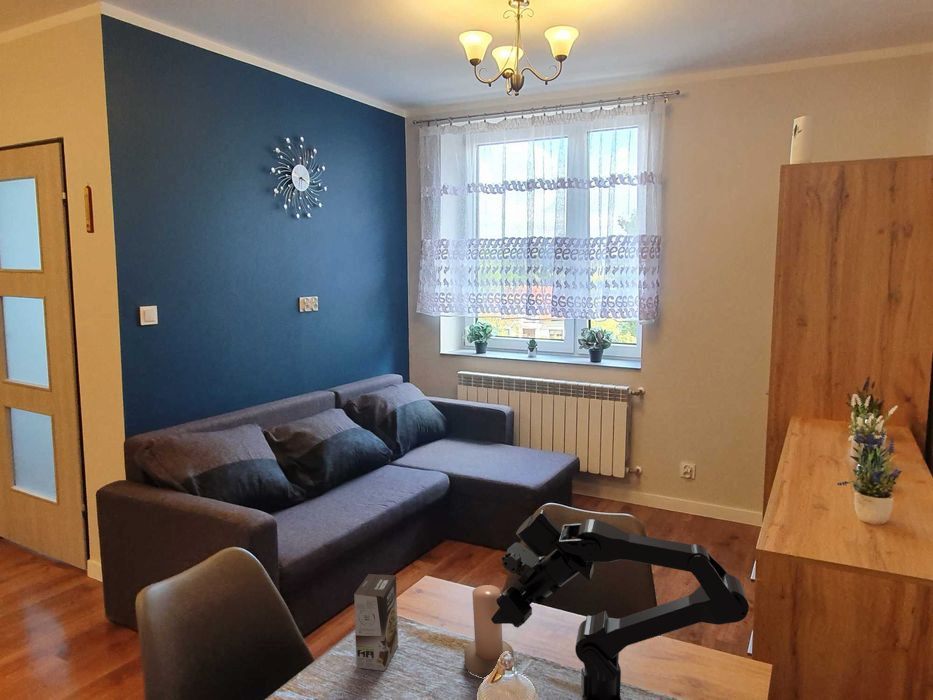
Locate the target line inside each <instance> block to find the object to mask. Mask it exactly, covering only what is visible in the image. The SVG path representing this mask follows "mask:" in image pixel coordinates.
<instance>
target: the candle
mask: <svg viewBox="0 0 933 700" xmlns="http://www.w3.org/2000/svg"><path fill="white" fill-rule="evenodd" d="M471 595H472V609H473V610H472V611H473V612H472V613H473V627H474V628H473V631H474V640H475V651H476V655H477V656H478V657H479V658H481V659H483V660H494V659H497V658H499V657H500V655H501V654H502V653H503V641H504V639H503V624H494V623H493V622H492V620H491V618H492V617H493V616H494V614H495V613H496V612H497V610H498V609H499V606H498V604H497V601H496V599H497V598H498V597H499V596H500V595H501V590H500V588H498V587H497V586H494V585H490V584H485V585H484V584H483V585H480V586H479V585H478V586H477V587H474V588H473V590H472V593H471Z"/></svg>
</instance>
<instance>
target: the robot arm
mask: <svg viewBox="0 0 933 700" xmlns="http://www.w3.org/2000/svg"><path fill="white" fill-rule="evenodd" d="M515 535H516V536H517V537H518V538H519V539H520V540H521V541H522V542H523V543H524V544H525V545H526V546H527V547H528V548H527V547H526V546H524V545H523V544H522V543H520V542H518V541H517V542H514V543H513V544H511V546H510V547H508V548H507V550H506V552H505V554H504V555H503V556H501V564H502V566H503V567H502V568H504V569H505V570H506V571H507V572H509V573H510V574H513V575H515V574H517V576H519V577H518V578H517V581H518V582H519V583H520V584H521V586H520V587H519V588H517V587H513V586H509V587H508V588H507V589H506V590H504V591H503V592H502V593H500V596H499V597H498V598H497V599H496V601H497V604H498V606H499V609H498V610H497V612H496V613H495V614H494V616H493V617H492V618H491V620H492V622H493V623H494V624H502V625H503V624H505V625H509V624H510V625H512V626H513V627H514V628H517V629H518V628H520V627H522V625H524V624H525V623H526V622H527V620H529V618H530V617H531V616H532V615H533V607H532V606H531V604H532V603H533V602H534V601H535V602H537V604H538V605H541V604H542V603H543V602H544V601H545V599H546V598H548V597H549V596H550V595H551V594H556V593H557V592H558V591H559V590H560V589H561V588H562V586H563V585H565V584H566V583H567V582H569V581H570V580H572V579H573V578H574V577H576V576H578V574H580V575H581V576H583V578H584V579H585V580H586V581H587V582H588V581H591V579H592V576H593V573H594V571H595V568H594V563H612V562H616V561H630V562H635V563H640V564H641V563H642V564H645V565H651V566H656V567H663V568H667V569H672V570H679V571H682V572H689V573H691V574H692V576H693V577H695V578H696V580H697V582H698V583H699V587H697V588H696V589H695V590H694V591H693V592H692V593H691V594H689V595H686V596H683V597H679V598H677V599H675V600H672V601H667V602H665V603H662V604H659V605H656V606H654V607H650V608H647V609H644V610H641V611H638V612H635V613H633V614H629V615H625V616H623V617H620V618H619V617H618V618H613V617H609V616H608V613H607V611H606V610H603V611H601V612H598V613H597V614H594V615H586V618H585V620H583V621H582V622H580V625H579V627H578V630H577V635H576V636H577V637H576V642H575V649H574V650H575V654H576V656H577V658H578V659H579V661H580V662H582V663H583V665H584V666H583V667H582V668H581V679H580V680H581V681H580V682H581V683H580V688H581V692H582V695H583V697H584V698H585V700H623V699H622V696H621V686H622V684H621V680H622V679H621V676H622V669H621V666H620V662H619V659H620V658H619V656H620V652H622V651H623V650H624V649H625V648H626V647H629V646H631V645H634V644H638V643H641V642H644V641H646V640H649V639H653V638H655V637H659V636H662V635H665V634H669V633H672V632H675V631H679V630H681V629H684V628H687V627H691V626H694V625H697V624H708V625H716V626H719V625H721V626H722V625H728V624H734V623H735V624H736V623H739V622H742V621H744V620H745V619H746V618H747V615H748V613H749V607H750V606H749V603H748V599H747V595H746V592H745V588H744V586H743V583H742V581H740V579H738V578H737V577H736V576H734V575H731V574H729V572H727V570H726V569H725V568H724V567H723V565H721V563H720V562H718V561H717V560H716V559H715V558H714V557H713V556H712V555H711V554H710V553H709V552H708V551H709V550H707V548H706V547H705V546H703V545H701V544H699V543H697V544H696V543H693V544H690V543H684V542H678V541H672V540H668V539H667V540H666V539H662V538H661V539H660V538H655V537H650V536H644V535H637V534H632V533H629V532H625V531H623V530H621V529H619V528H618V527H616V526H614V525H612V524H609V523H607V522H604V521H600V520H599V519H595V518H594V519H593V518H591V519H590V518H589V519H586V520H585V521H583V522H581V523H570V524H569V523H568V524H567V523H566V524H562V525H561V528H560V527H559V526H558V524H556V522H555V521H554V520H553V519H552V518H551V517H550V516H549V514H548V513H547V512H546V511H545V510H544V509H541V510H540V511H539V512H535V513H534V514H533V515H530V516H529V517H528V518H527V519H526V520H525V521H523V523H522V524H521V525H520V526H519V527H518V529H517V530H516V532H515ZM573 538H575V539H573Z"/></svg>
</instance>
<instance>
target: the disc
mask: <svg viewBox="0 0 933 700" xmlns="http://www.w3.org/2000/svg"><path fill="white" fill-rule="evenodd" d="M505 651H509V652H511V654H512V657H513V658H514V649H513V647H512V645H510V643H508V642H507V641H505V640H503V652H505ZM463 656H464V659H463V660H464V662H463V663H465V665H464V668H465V667H466V669H467V670H468V671H469V672H471V673H472V674H474V675H477V676H479V677H482V678H484V677H486V676H487V675H489V674H490V673H491V672H492V671H493V669H494V668H495V666H496V664H497V661H498V659H499V658H497V659H494V660H483V659H481V658H479V657H478V656H477V655H476V651H475V639H474V640H472V641H471V642H469V643H468V644H467V645H466V646H465V649H464V655H463ZM466 669H465V670H466ZM467 670H466V671H467Z"/></svg>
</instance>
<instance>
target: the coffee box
mask: <svg viewBox="0 0 933 700" xmlns="http://www.w3.org/2000/svg"><path fill="white" fill-rule="evenodd" d="M353 595H354V596H353V597H354V603H353V604H354V628H355V634H354V635H355V655H356V656H355V660H356V661H355V664H356V668H358V669H366V670H367V669H368V670H374V671H379V672H380V671H381V672H384V671H386V669H387V667H388V666H389V664H390V662H391V660H392V658H393V656H394V654H395V652H396V650H397V649H398V647H399V635H398V634H399V631H398V630H399V628H398V604H397V603H398V598H397V597H398V596H397V595H398V594H397V576H396V575H392V574H391V575H390V574H373V573H368V574H367V575H366V577H364V579H363V581H362V583H361V584H360V586H358V588H357V590H356V591H355V592H354V594H353Z"/></svg>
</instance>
